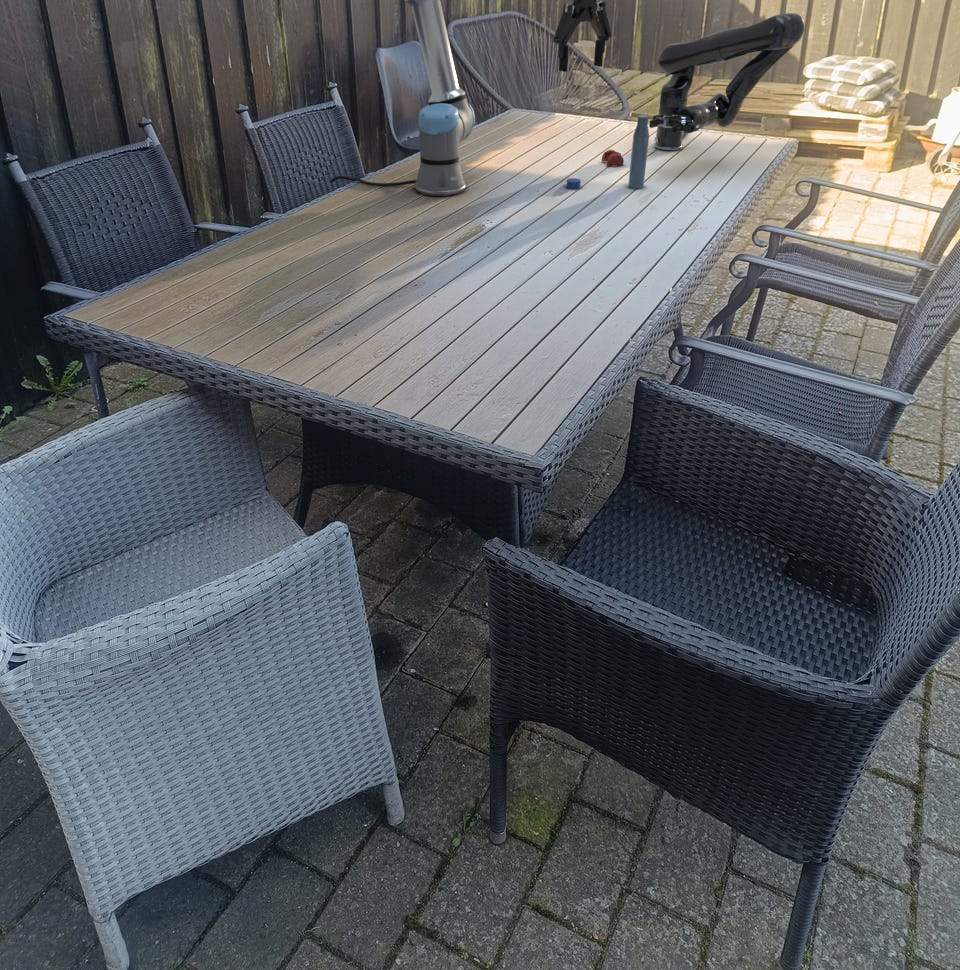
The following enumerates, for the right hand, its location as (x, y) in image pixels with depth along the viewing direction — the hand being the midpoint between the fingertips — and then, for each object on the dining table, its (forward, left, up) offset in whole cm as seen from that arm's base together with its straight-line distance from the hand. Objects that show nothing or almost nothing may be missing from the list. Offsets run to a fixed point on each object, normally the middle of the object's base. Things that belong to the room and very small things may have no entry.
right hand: (661, 127), depth 258 cm
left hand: (+17, -22, +18) cm, 33 cm away
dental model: (-13, -17, -16) cm, 27 cm away
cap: (+17, -22, -14) cm, 31 cm away
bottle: (+9, -4, -16) cm, 19 cm away
